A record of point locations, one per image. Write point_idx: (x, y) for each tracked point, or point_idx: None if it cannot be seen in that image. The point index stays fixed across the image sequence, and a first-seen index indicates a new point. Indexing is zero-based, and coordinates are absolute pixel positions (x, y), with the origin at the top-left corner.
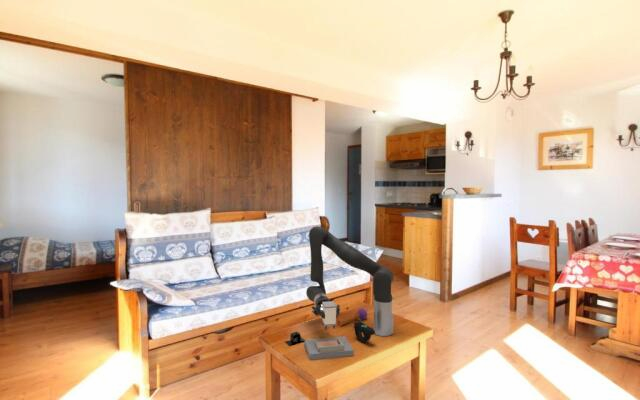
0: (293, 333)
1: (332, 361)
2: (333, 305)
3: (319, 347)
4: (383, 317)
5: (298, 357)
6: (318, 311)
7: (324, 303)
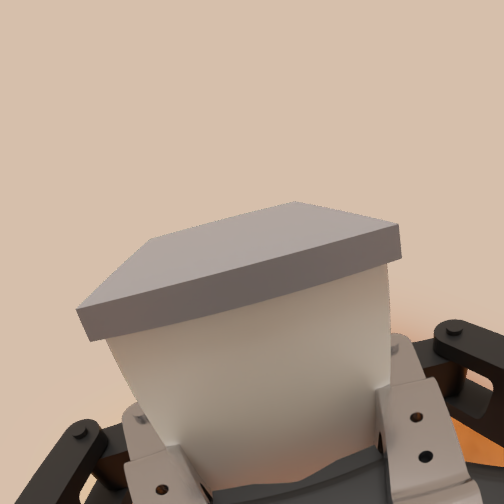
0: None
1: None
2: (179, 234)
3: None
4: None
5: (459, 439)
6: (434, 348)
7: (316, 218)
